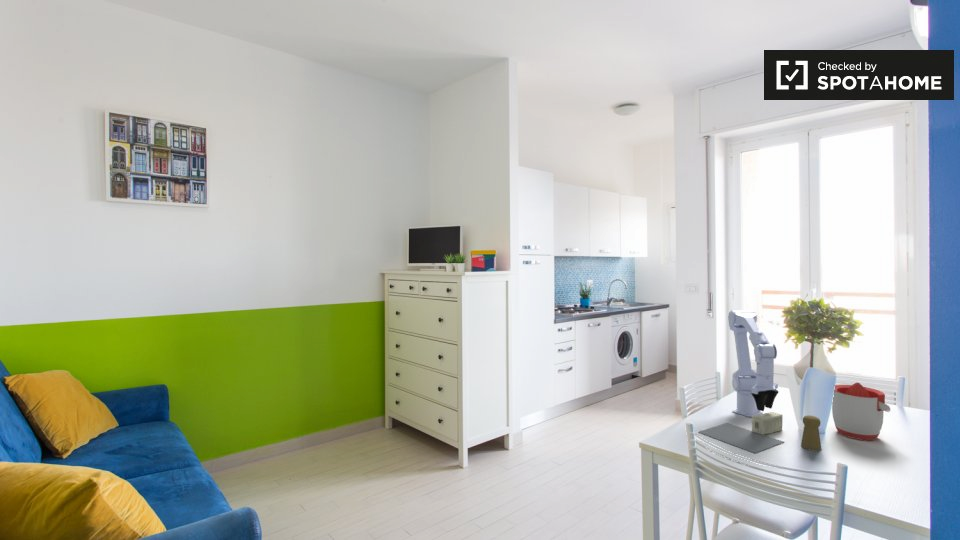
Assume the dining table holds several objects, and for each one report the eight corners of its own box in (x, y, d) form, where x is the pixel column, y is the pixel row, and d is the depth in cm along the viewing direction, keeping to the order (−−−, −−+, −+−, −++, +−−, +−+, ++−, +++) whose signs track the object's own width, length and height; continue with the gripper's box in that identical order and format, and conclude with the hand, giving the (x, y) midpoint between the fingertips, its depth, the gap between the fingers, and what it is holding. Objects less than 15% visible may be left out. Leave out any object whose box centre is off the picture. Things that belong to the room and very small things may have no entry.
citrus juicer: (880, 448, 165) (881, 392, 164) (823, 432, 180) (824, 381, 179) (897, 438, 174) (898, 385, 173) (841, 424, 188) (842, 374, 187)
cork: (815, 452, 164) (816, 420, 163) (797, 445, 169) (797, 415, 168) (825, 448, 166) (825, 417, 166) (806, 442, 172) (807, 412, 171)
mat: (727, 423, 191) (727, 422, 191) (784, 442, 172) (784, 441, 172) (698, 432, 182) (698, 431, 182) (755, 453, 163) (755, 452, 163)
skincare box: (751, 431, 182) (771, 427, 187) (762, 435, 178) (782, 430, 183) (751, 415, 181) (771, 411, 187) (763, 418, 178) (782, 414, 183)
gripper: (764, 379, 177) (764, 415, 177) (786, 374, 184) (785, 408, 184) (746, 375, 183) (745, 410, 183) (767, 370, 190) (767, 403, 190)
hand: (764, 409), depth 184 cm, fingers open, 5 cm apart
